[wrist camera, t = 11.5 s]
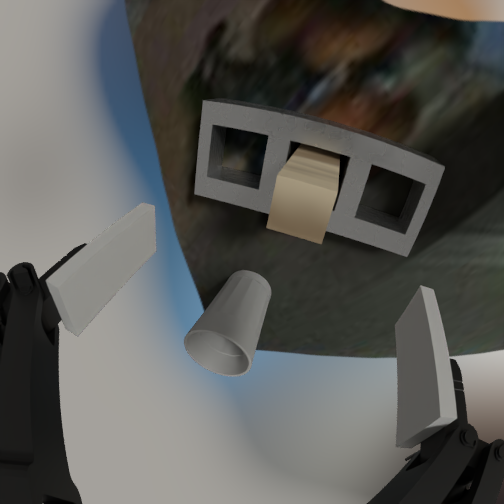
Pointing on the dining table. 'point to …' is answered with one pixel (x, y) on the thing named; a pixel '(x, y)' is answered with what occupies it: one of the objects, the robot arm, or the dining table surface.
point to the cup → (231, 325)
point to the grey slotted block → (326, 137)
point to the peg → (305, 193)
